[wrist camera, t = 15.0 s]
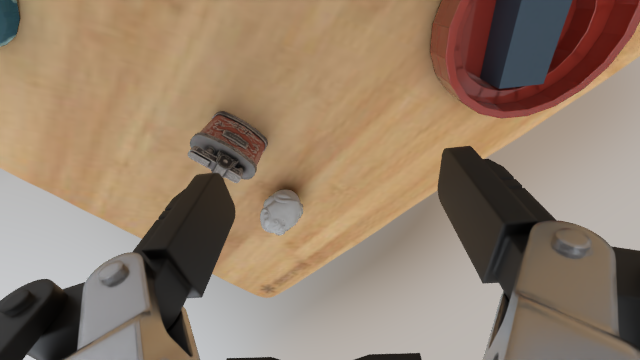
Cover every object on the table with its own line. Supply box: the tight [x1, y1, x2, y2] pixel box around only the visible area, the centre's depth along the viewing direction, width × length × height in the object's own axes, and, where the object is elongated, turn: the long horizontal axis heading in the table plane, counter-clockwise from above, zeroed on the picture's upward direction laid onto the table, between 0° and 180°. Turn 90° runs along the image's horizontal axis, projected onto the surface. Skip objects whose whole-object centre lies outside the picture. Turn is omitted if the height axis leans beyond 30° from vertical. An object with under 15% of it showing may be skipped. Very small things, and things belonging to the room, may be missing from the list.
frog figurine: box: [260, 189, 303, 235], centre depth 41 cm, size 6×7×7 cm
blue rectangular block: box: [480, 0, 572, 89], centre depth 27 cm, size 10×4×4 cm, turn 7°
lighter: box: [188, 111, 268, 183], centre depth 33 cm, size 8×3×10 cm, turn 54°
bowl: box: [430, 0, 640, 118], centre depth 27 cm, size 17×17×6 cm
